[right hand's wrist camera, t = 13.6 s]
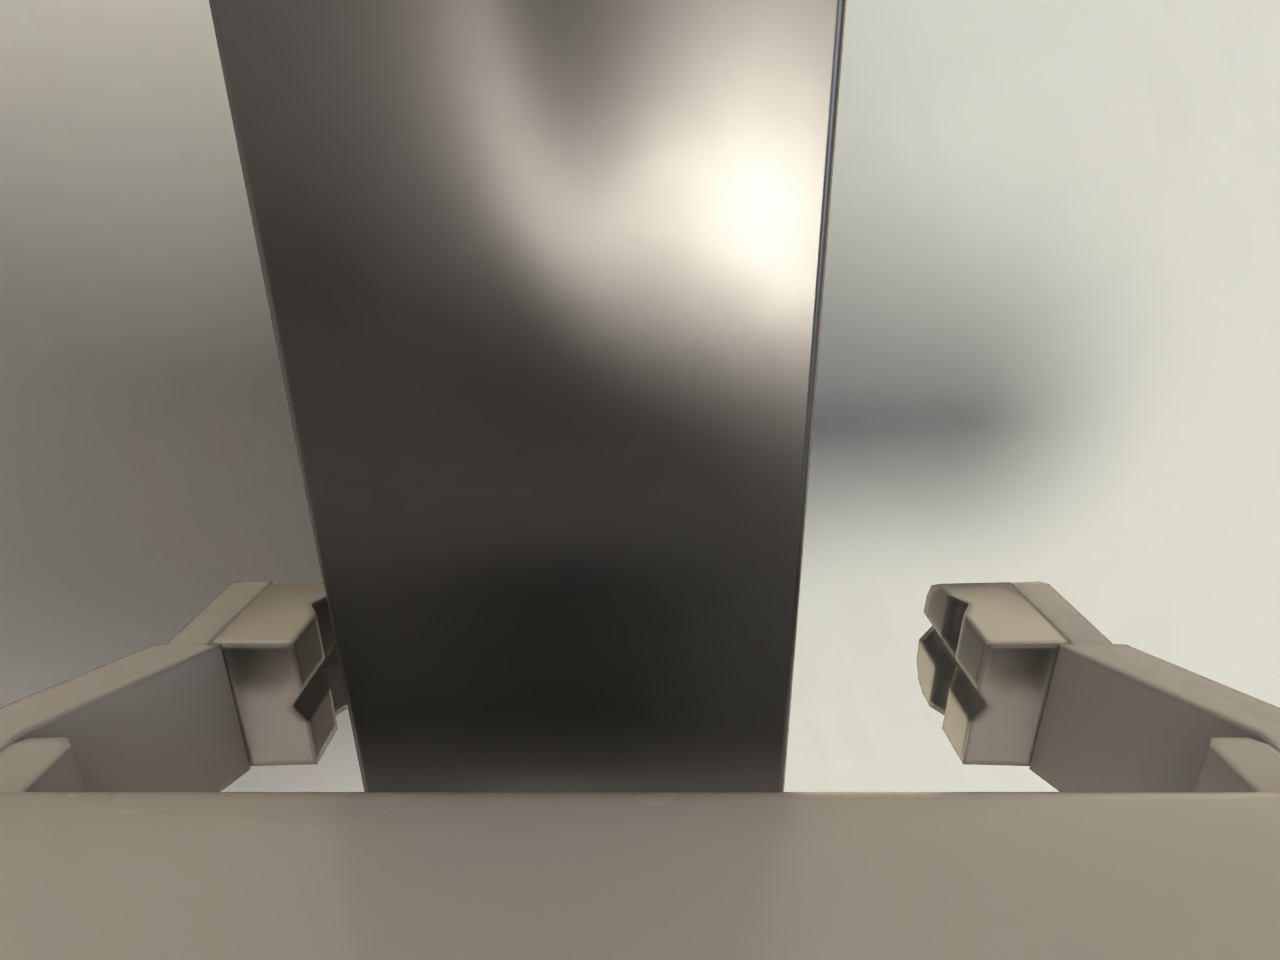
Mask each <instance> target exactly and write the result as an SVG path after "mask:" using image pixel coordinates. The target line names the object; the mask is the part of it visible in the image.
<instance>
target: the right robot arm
mask: <svg viewBox="0 0 1280 960" xmlns="http://www.w3.org/2000/svg"><path fill="white" fill-rule="evenodd" d="M924 613H925V614H926V616H927V618H928V619H929V621H930V622H931V624H932V625H933V626H932V627H931V628H930V629H929V630H928V631H927V632H926V633H925V634H924V635H923V636H922V637H921V638H920V639H919V646H918V654H917V668H918V679H919V683H920V686H921V689H922V692H923V695H924V697H925V698H926V700H927V702H928V704H929V706H930V707H932V708H934V709H935V710H937V711H938V712H940V713H941V714H943V715H945V716H944V722H943V728H942V729H943V730H944V732H945V734H946V736H947V737H948V739H949V741H950V743H951V744H952V746H953V748H954V749H955V751H956V753H957V755H958V756H959V758H960V760H961V762H962V763H963V764H977V765H1014V766H1030V768H1029V769H1030V770H1032V771H1033V772H1034V773H1036V774H1037V775H1038V776H1040V777H1041V778H1042V779H1044V780H1045V781H1046V782H1048V783H1049V784H1050V785H1052V786H1053V787H1054V788H1056V789H1057V790H1058V791H1060V792H221V791H222V790H223V789H225V788H226V787H227V786H229V785H230V784H231V783H233V782H234V781H235V780H237V779H238V778H239V777H241V776H242V775H243V774H245V773H246V772H247V771H249V770H250V766H265V765H301V764H317V763H318V762H319V760H320V758H321V756H322V755H323V753H324V751H325V750H326V748H327V746H328V744H329V743H330V741H331V739H332V737H333V736H334V734H335V732H336V730H337V729H338V728H337V722H336V716H335V715H337V714H339V713H340V712H342V711H343V710H345V709H346V708H348V705H347V700H346V695H345V689H344V684H343V679H342V674H341V669H340V664H339V659H338V654H337V649H336V644H335V639H334V634H333V628H332V623H331V618H330V613H329V608H328V603H327V598H326V593H325V588H324V583H282V582H277V583H273V582H241V583H232V584H231V585H230V586H229V587H228V588H227V589H226V590H224V591H223V592H222V593H221V594H220V595H219V596H218V597H217V598H216V599H215V600H214V601H213V602H212V603H211V604H210V605H208V606H207V607H206V608H205V609H204V610H203V611H202V612H201V613H200V614H199V615H198V616H197V617H196V618H195V619H193V620H192V621H191V622H190V623H189V624H188V625H187V626H186V627H185V628H184V629H183V630H182V631H181V632H180V633H178V634H177V635H176V636H175V637H174V638H173V639H172V640H171V641H170V642H169V643H168V644H155V645H152V646H150V647H147V648H145V649H143V650H140V651H138V652H135V653H133V654H130V655H128V656H125V657H123V658H121V659H118V660H116V661H113V662H111V663H108V664H106V665H104V666H101V667H99V668H96V669H94V670H91V671H89V672H86V673H84V674H82V675H79V676H77V677H74V678H72V679H69V680H67V681H65V682H62V683H60V684H57V685H55V686H52V687H50V688H47V689H45V690H43V691H40V692H38V693H35V694H33V695H30V696H28V697H26V698H23V699H21V700H18V701H16V702H13V703H11V704H9V705H6V706H4V707H1V708H0V960H1280V708H1278V707H1276V706H1274V705H1271V704H1269V703H1266V702H1264V701H1261V700H1259V699H1257V698H1254V697H1252V696H1249V695H1247V694H1244V693H1242V692H1240V691H1237V690H1235V689H1232V688H1230V687H1227V686H1225V685H1222V684H1220V683H1218V682H1215V681H1213V680H1210V679H1208V678H1205V677H1203V676H1201V675H1198V674H1196V673H1193V672H1191V671H1188V670H1186V669H1184V668H1181V667H1179V666H1176V665H1174V664H1171V663H1169V662H1167V661H1164V660H1162V659H1159V658H1157V657H1154V656H1152V655H1150V654H1147V653H1145V652H1142V651H1140V650H1137V649H1135V648H1133V647H1130V646H1128V645H1125V644H1112V643H1111V642H1110V641H1109V640H1108V639H1107V638H1106V637H1105V636H1104V635H1103V634H1102V633H1101V632H1099V631H1098V630H1097V629H1096V628H1095V627H1094V626H1093V625H1092V624H1091V623H1090V622H1089V621H1088V620H1087V619H1086V618H1085V617H1083V616H1082V615H1081V614H1080V613H1079V612H1078V611H1077V610H1076V609H1075V608H1074V607H1073V606H1072V605H1071V604H1070V603H1069V602H1067V601H1066V600H1065V599H1064V598H1063V597H1062V596H1061V595H1060V594H1059V593H1058V592H1057V591H1056V590H1055V589H1054V588H1053V587H1051V586H1050V585H1049V584H1046V583H1043V582H1040V581H1038V582H1015V583H1010V582H1001V583H960V584H937V585H931V588H930V590H929V592H928V594H927V597H926V603H925V608H924Z"/></svg>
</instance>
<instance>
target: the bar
mask: <svg viewBox="0 0 1280 960" xmlns="http://www.w3.org/2000/svg"><path fill="white" fill-rule="evenodd" d="M209 3H210V8H211V13H212V18H213V23H214V28H215V34H216V39H217V44H218V49H219V54H220V59H221V64H222V69H223V74H224V79H225V84H226V89H227V95H228V100H229V105H230V110H231V115H232V120H233V125H234V130H235V135H236V140H237V145H238V150H239V156H240V161H241V166H242V171H243V176H244V181H245V186H246V191H247V196H248V201H249V206H250V211H251V217H252V222H253V227H254V232H255V237H256V242H257V247H258V252H259V257H260V262H261V267H262V273H263V278H264V283H265V288H266V293H267V298H268V303H269V308H270V313H271V318H272V323H273V328H274V334H275V339H276V344H277V349H278V354H279V359H280V364H281V369H282V374H283V379H284V384H285V389H286V395H287V400H288V405H289V410H290V415H291V420H292V425H293V430H294V435H295V440H296V445H297V450H298V456H299V461H300V466H301V471H302V476H303V481H304V486H305V491H306V496H307V501H308V506H309V511H310V517H311V522H312V527H313V532H314V537H315V542H316V547H317V552H318V557H319V562H320V567H321V573H322V578H323V583H324V588H325V593H326V598H327V603H328V608H329V613H330V618H331V623H332V628H333V634H334V639H335V644H336V649H337V654H338V659H339V664H340V669H341V674H342V679H343V684H344V689H345V695H346V700H347V705H348V710H349V715H350V720H351V725H352V730H353V735H354V740H355V745H356V750H357V756H358V761H359V766H360V771H361V776H362V781H363V786H364V791H365V792H784V782H785V769H786V756H787V744H788V731H789V718H790V706H791V693H792V680H793V668H794V655H795V643H796V630H797V617H798V605H799V592H800V579H801V567H802V554H803V541H804V529H805V516H806V503H807V491H808V478H809V466H810V453H811V440H812V428H813V415H814V402H815V390H816V377H817V364H818V352H819V339H820V326H821V314H822V301H823V289H824V276H825V263H826V251H827V238H828V225H829V213H830V200H831V187H832V175H833V162H834V149H835V137H836V124H837V112H838V99H839V86H840V74H841V61H842V48H843V36H844V23H845V10H846V0H209Z"/></svg>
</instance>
